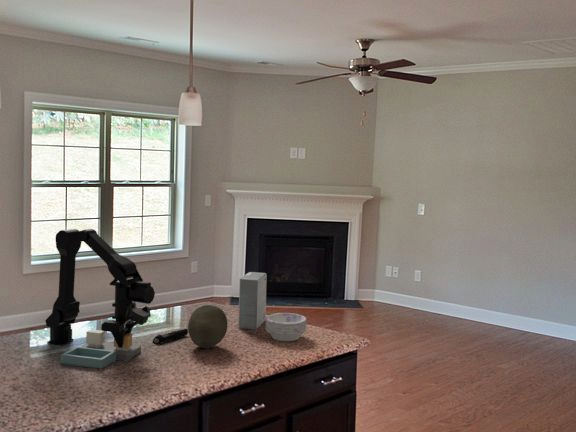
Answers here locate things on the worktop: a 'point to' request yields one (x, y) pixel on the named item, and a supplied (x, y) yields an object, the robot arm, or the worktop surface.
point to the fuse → (95, 338)
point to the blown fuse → (125, 342)
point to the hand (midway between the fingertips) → (122, 346)
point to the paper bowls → (285, 326)
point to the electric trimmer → (170, 336)
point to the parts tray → (88, 357)
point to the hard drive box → (252, 300)
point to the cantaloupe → (207, 326)
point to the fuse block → (119, 353)
